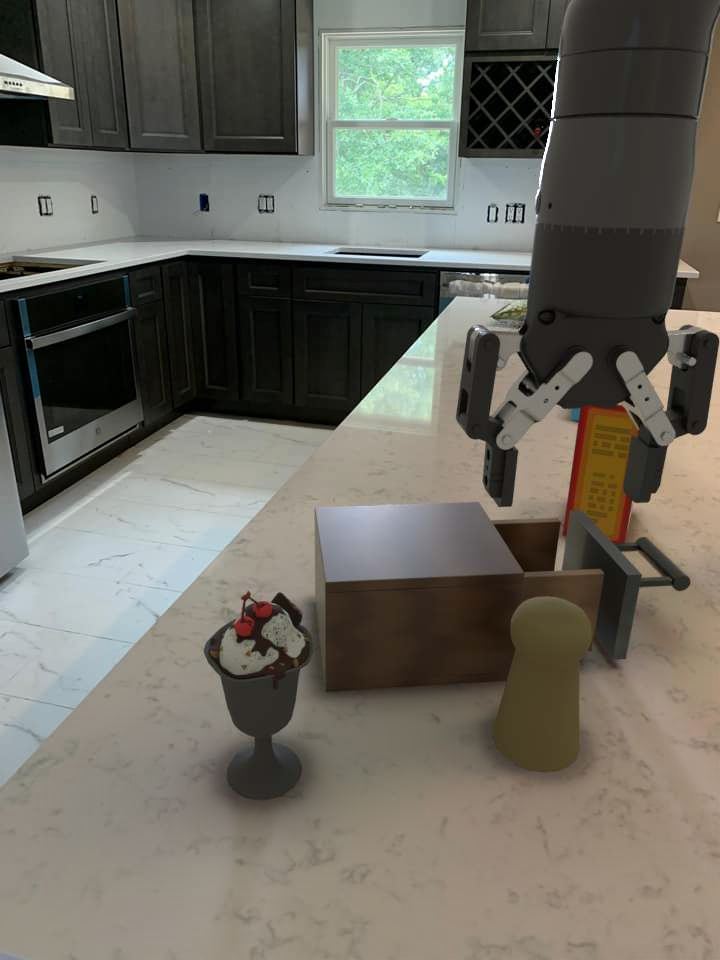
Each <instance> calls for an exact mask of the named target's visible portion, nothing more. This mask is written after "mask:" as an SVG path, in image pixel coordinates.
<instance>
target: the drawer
mask: <svg viewBox="0 0 720 960" xmlns="http://www.w3.org/2000/svg"><path fill="white" fill-rule="evenodd" d="M490 520H491V522H492V523H493V525H494V526H495V528H496V529H497V531H498V533H499V534H500V536H501V537H502V539H503V540H504V542H505V543H506V545H507V547H508V548H509V550H510V551H511V553H512V554H513V556H514V557H515V559H516V561H517V562H518V564H519V565H520V567H521V568H522V570H523V572H524V573H525V574H524V583H523V592H522V601H521V604H522V603H523V602H524V601H526V600H528V599H531V598H535V597H545V596H549V597H557V598H560V599H564V600H567V601H569V602H571V603H573V604H575V605H577V606H578V607H579V608H581V609H582V610H583V611H584V613H585V614H586V615H587V617H588V619H589V621H590V624H591V631H592V639H591V644H590V646H589V649H588V651H587V653H588V652H589V653H591V652H592V651H593V646H594V639H595V638H596V640H597V641H598V642H599V644H600V645H601V647H602V648H603V649H604V650H605V652H606V653H607V656H609V657H610V659H611V660H612V661H618V660H626V659H627V655H628V650H629V646H630V639H631V634H632V629H633V624H634V618H635V615H636V614H635V613H636V610H637V609H636V608H637V603H638V597H639V593H640V588H655V587H671V588H673V590H675V592H685V590H687V589H689V587H690V585H691V577H689V576H688V575H687V574H686V573H685V572H684V571H683V570H682V568H680V567H679V566H678V565H677V564H676V563H675V562H674V561H673V560H672V559H671V558H669V556H668V555H667V554H666V553H664V551H662V550H661V549H660V548H659V547H658V545H656V543H654V542H653V541H652V540H651V539H650V538H649V537H647V536H641V537H639V538H637V539H636V540H635V542H625V543H612V542H611V541H610V540H609V538H608V537H607V536H606V535H605V534H604V533H603V532H602V531H601V530H600V529H599V528H598V527H597V526H596V524H595V523H594V522H593V521H592V520H591V519H590V518H589V517H588V516H587V515H586V514H585V513H584V512H583V511H582V510H579V511H570V515H569V522H568V530H567V536H565V537H566V538H565V544H564V553H563V559H562V566H561V570H555V567H556V561H557V560H556V559H557V555H558V546H559V538H560V531H561V523H562V521H561V519H560V518H558V517H541V518H517V519H515V518H514V519H513V518H512V519H490ZM623 552H624V553H625V552H637V553H638V554H639V555H640V556H641V557H642V558H643V559H644V560H645V561H646V562H647V563H648V564H649V565H650V566H651V567H652V568H653V569H654V570H655V571H656V573H658V574H659V575H660V576H651V577H650V576H649V577H642V576H643V574H642V573H641V572H640V570H638V568H637V567H636V566H635V565H634V564H633V563H632V562H631V561H630V560H629V559H628V557H627V556H626V555H625V554H624V553H623Z"/></svg>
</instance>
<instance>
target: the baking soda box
mask: <svg viewBox="0 0 720 960" xmlns="http://www.w3.org/2000/svg"><path fill="white" fill-rule="evenodd" d="M652 386H653V388H654V389H655V386H654V385H652ZM638 432H639V430H638V429H637V427H636V426H635V424H634V422H633V421H632V419H631V417H630V416H629V414H628V412H627V411H626V409H625V408H624V407H623V406H622V405H621V403H619V404H617V406H616V408H601V407H597V406H593V405H588V406H585V407H581V408H580V414H579V421H577V428H576V435H575V444H574V450H573V457H572V465H571V471H570V480H569V486H568V494H567V501H566V508H565V515H564V521H563V529H562V536H563V537H564V536H565V537H567V530H568V522H569V515H570V511H579V510H582V511H583V512H584V513H585V514H586V515H587V516H588V517H589V518H590V519H591V520H592V521H593V522H594V523H595V524H596V526H597V527H598V528H599V529H600V530H601V531H602V532H603V533H604V534H605V535H606V536H607V537H608V538H609V540H610V541H611V542H612V543H626V540H627V536H628V532H629V527H630V523H631V519H632V514H633V508H634V504H635V502H634V501H632V500H631V499H630V498H629V497H628V496H627V495H626V494H625V493H624V490H623V483H624V477H625V472H626V466H627V460H628V454H629V448H630V443H631V437H632V435H638Z"/></svg>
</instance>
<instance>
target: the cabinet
mask: <svg viewBox="0 0 720 960" xmlns="http://www.w3.org/2000/svg"><path fill="white" fill-rule="evenodd" d="M491 520H492V519H491V518H490V517H489V515H488V514H487V512H486V511H485V509H484V508H483V506H482V504H481V503H480V501H464V502H461V501H460V502H459V501H458V502H434V503H406V504H404V503H403V504H377V505H373V504H372V505H349V506H346V505H345V506H322V507H321V506H319V507H318V506H317V507H314V596H315V597H314V603H315V613H316V622H317V629H318V639H319V647H320V656H321V666H322V674H323V683H324V692H325V693H333V692H334V693H336V692H349V691H351V692H352V691H364V690H380V689H382V690H383V689H398V688H409V687H410V688H413V687H415V688H416V687H429V686H444V685H445V686H446V685H458V684H459V685H461V684H475V683H476V684H477V683H490V682H491V683H492V682H493V683H494V682H505V681H506V682H507V678H508V675H509V671H510V668H511V664H512V661H513V657H514V654H515V650H516V648H515V646H514V644H513V643H512V639H511V619H512V617H513V614H514V612H515V611H516V609H517V608H518V607H519V606H520V605H521V601H522V592H523V583H524V574H525V573H524V572H523V570H522V568H521V567H520V565H519V564H518V562H517V561H516V559H515V557H514V556H513V554H512V553H511V551H510V550H509V548H508V547H507V545H506V543H505V542H504V540H503V539H502V537H501V536H500V534H499V533H498V531H497V529H496V528H495V526H494V525H493V523H492V522H491Z"/></svg>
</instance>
